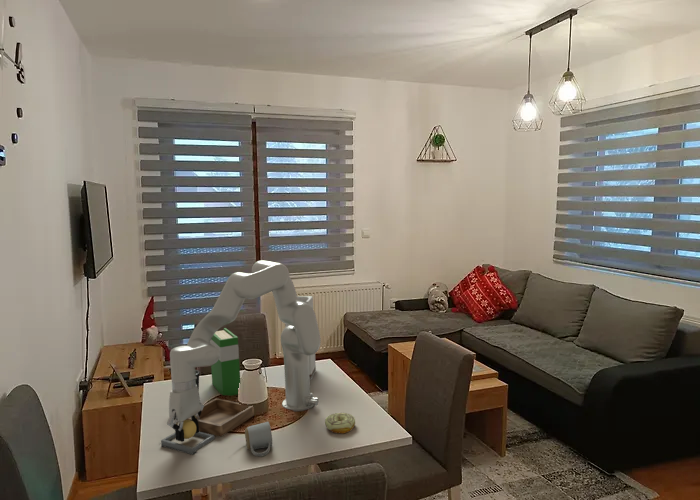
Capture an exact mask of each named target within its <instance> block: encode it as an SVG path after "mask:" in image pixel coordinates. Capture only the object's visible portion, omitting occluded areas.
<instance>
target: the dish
mask: <svg viewBox="0 0 700 500" xmlns="http://www.w3.org/2000/svg"><path fill="white" fill-rule="evenodd" d="M194 436H197V437H200V438H204V439H203V440H202V441H200V442H198V443H197V444H195V445H194V446H190V445H185V444H182V443H179V442H178V443H177V442H174V441H171V440H173V439H176V435H175V432H174V433H171V434H170V435H168V436H166V437H164V438H163V439H161V440H160V442H161V443H160V446H161V447H163V448H167V449H171V450H174V451H178V452H180V453H181V452H182V453H184V454H189V455H192V456H193V455H195V454H197V453H198V451H197V450H199V449H201V448H202V447H204V446H206V445H208V444H209V443H210V442H212V441H213V440H215V435H212V434H208V433H204V432H200V431H199V432H198V433H195V434H194Z"/></svg>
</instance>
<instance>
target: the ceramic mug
mask: <svg viewBox="0 0 700 500" xmlns="http://www.w3.org/2000/svg"><path fill="white" fill-rule="evenodd" d="M271 427H272V426H271V424H270V421H266V422H262V423H257V424H254V425H253V424H252V425H250V426H247V427H246V428H245V429H244V435H245V443H246V448H247V449H248V450H250V451H251V453H252V455H254V456H255V457H265V456H266V455H268V453H269V452H270V450H271V447H273V435H272V429H271ZM263 448H264V449H265V448H267V449H265V451H263V452H256V451H255V450H257V449H263Z"/></svg>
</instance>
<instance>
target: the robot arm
mask: <svg viewBox="0 0 700 500" xmlns="http://www.w3.org/2000/svg"><path fill="white" fill-rule="evenodd" d="M296 290H297V289H296V288H295V284H294V282H293V280H292V278H291V276H290V271H289V268H288V267H287V266H286V265H285V264H283V263H280V262H274V261H269V260H266V259H265V260H263V259H262V260H257V261H256V262H255V263H254V264H253V265H252V266H251V273H247V272H241V271H237V272H234V273H233V272H232V273H231V274H230V275H229V277H228V278H227V280H226V283H225V284H224V285H223V288H222V290H221V292H220V293H219V296H218V297H217V299H216V301H215V303H214V306H213V307H212V308H211V310H210V311H209V312H208V313H207V314H206V315H205V316H204V317H203V318H201V320H200V321H199V322H198V323H197V325H196V326H195V328H194V329H193V331H192V333H191V335H190V337H189V339H188V341H187V344H186V345H179V346H175V347H173V348H171V350H170V352H169V360H170V362H169V365H170V373H171V374H170V375H171V376H170V377H171V390H170V393H169V399H168V417H169V419H168V420H167V422H166V424H167V425H166V426H169V427H170V428H172V429H173V430H174V433H175V435H176V437H175V441H178V442H182V443H183V442H185V439H184V430H183V429H182V426H183V421H184V420H186V419H188V418H190V417H191V419H192V420H191V421H193V422H194V423H195V424H196V433H198V432H200V431H199V423H198V421H199V420H200V415H201V411H202V410H203V408H204V404H203V403H201V397H200V391H198V387H197V385H196V379H197V377H196V376H195V370H196V368H203V367H204V368H205V367H206V368H207V367H211V365H213V364H215V363H216V362H217V361H218V360H219V357H220V351H219V349H218V348H217V347H216V346H215V345H213V344H211V343H210V340H211V338H212V337H213V335H214V334H215V332H216V331H219V329H221V328H222V327H224V326H226V325H229V324H230V323H233V322H234V321H235V320H236V319H237V317H238V314H239V313H240V311H241V308H242V307H243V304H244V302H245V300H253V299H256V298H260V297H262V296H264V295H267V294H270V293H272V296H273V299H274V303H275V304H274V305H275V307H276V312H277V316H278V319H279V320H280V321H281V322H282V323H283V324H284V325H285V324H288V325H289V326H287V327H285V326H284V327H283V329H282V331H281V334H280V343H281V348H282V349H281V350H282V354H283V363H284V365H283V366H284V386H285V390H284V391H285V399H284V400H283V401H282V403H281V407H283V408H284V409H287V410H290V411H292V412H303V411H307V410H310V409H312V408H313V407H314V406H318V404H319V398H318V397H314V395H313V394H314V393H313V392H311V381H310V380H311V379H310V376H309V358H308V355H313V354H315V355H316V353H317V352H318V351H319V349H320V347H321V342H322V341H321V334H320V328H319V324H318V319H317V316H316V313H315V310H314V307H313V308H312V307H311V306H310V305H309V304H307V303H305V302H301V301H299V300H298V297H297V296H298V294H297V292H296Z"/></svg>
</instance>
